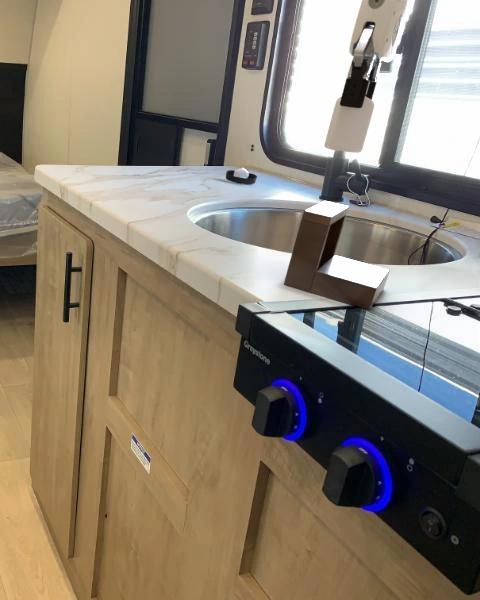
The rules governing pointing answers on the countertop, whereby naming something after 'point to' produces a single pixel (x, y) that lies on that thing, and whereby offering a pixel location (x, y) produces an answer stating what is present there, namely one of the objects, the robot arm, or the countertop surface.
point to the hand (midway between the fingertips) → (354, 105)
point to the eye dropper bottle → (349, 126)
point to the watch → (241, 176)
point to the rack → (331, 260)
